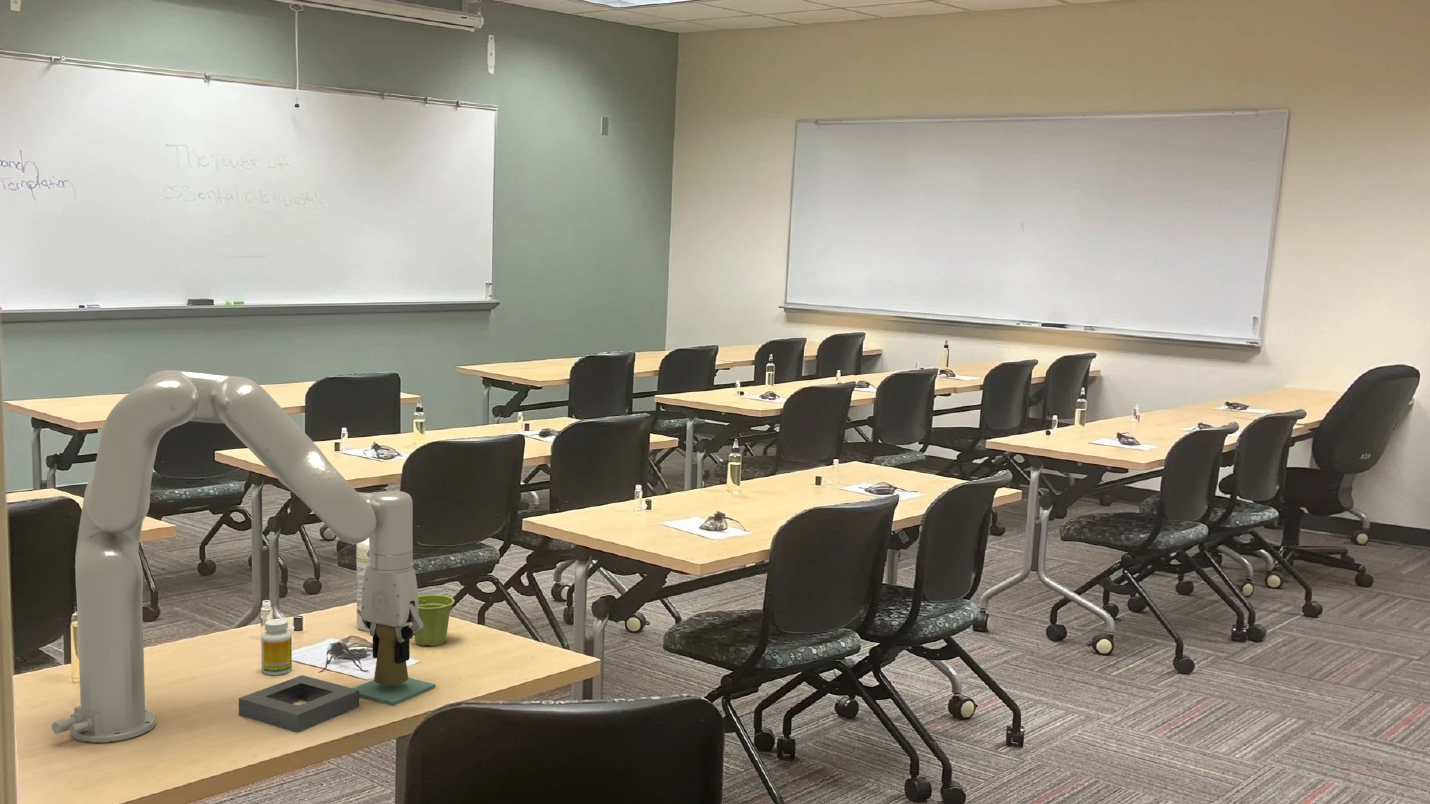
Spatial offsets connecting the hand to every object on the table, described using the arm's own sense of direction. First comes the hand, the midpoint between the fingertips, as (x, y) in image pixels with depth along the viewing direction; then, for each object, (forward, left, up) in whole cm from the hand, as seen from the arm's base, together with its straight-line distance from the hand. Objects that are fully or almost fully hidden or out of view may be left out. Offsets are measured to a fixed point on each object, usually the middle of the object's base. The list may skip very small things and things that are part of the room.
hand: (391, 657), depth 225 cm
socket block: (-16, +6, -6) cm, 18 cm away
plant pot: (+25, +13, -6) cm, 29 cm away
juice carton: (+26, +28, -6) cm, 39 cm away
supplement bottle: (-4, +25, -6) cm, 26 cm away
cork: (0, 0, -4) cm, 4 cm away
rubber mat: (0, 0, -6) cm, 6 cm away
